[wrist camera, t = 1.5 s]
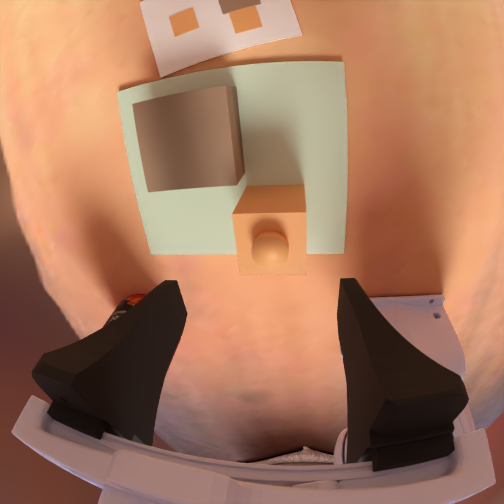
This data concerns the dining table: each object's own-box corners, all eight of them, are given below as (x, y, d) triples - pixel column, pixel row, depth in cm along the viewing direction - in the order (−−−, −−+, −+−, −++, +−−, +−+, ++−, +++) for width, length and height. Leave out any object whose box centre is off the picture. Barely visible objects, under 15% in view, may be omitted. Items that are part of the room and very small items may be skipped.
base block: (236, 86, 16) (225, 85, 14) (245, 172, 19) (236, 185, 17) (153, 101, 17) (132, 104, 15) (166, 179, 20) (147, 192, 18)
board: (342, 62, 15) (343, 61, 14) (343, 251, 22) (343, 253, 21) (119, 91, 18) (116, 92, 17) (153, 252, 24) (151, 254, 24)
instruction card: (272, -43, 11) (272, -44, 11) (302, 35, 14) (302, 34, 14) (140, 3, 14) (138, 2, 13) (161, 77, 17) (159, 77, 17)
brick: (304, 184, 19) (306, 218, 14) (305, 236, 21) (306, 283, 16) (246, 186, 20) (228, 220, 15) (251, 237, 22) (237, 282, 17)
